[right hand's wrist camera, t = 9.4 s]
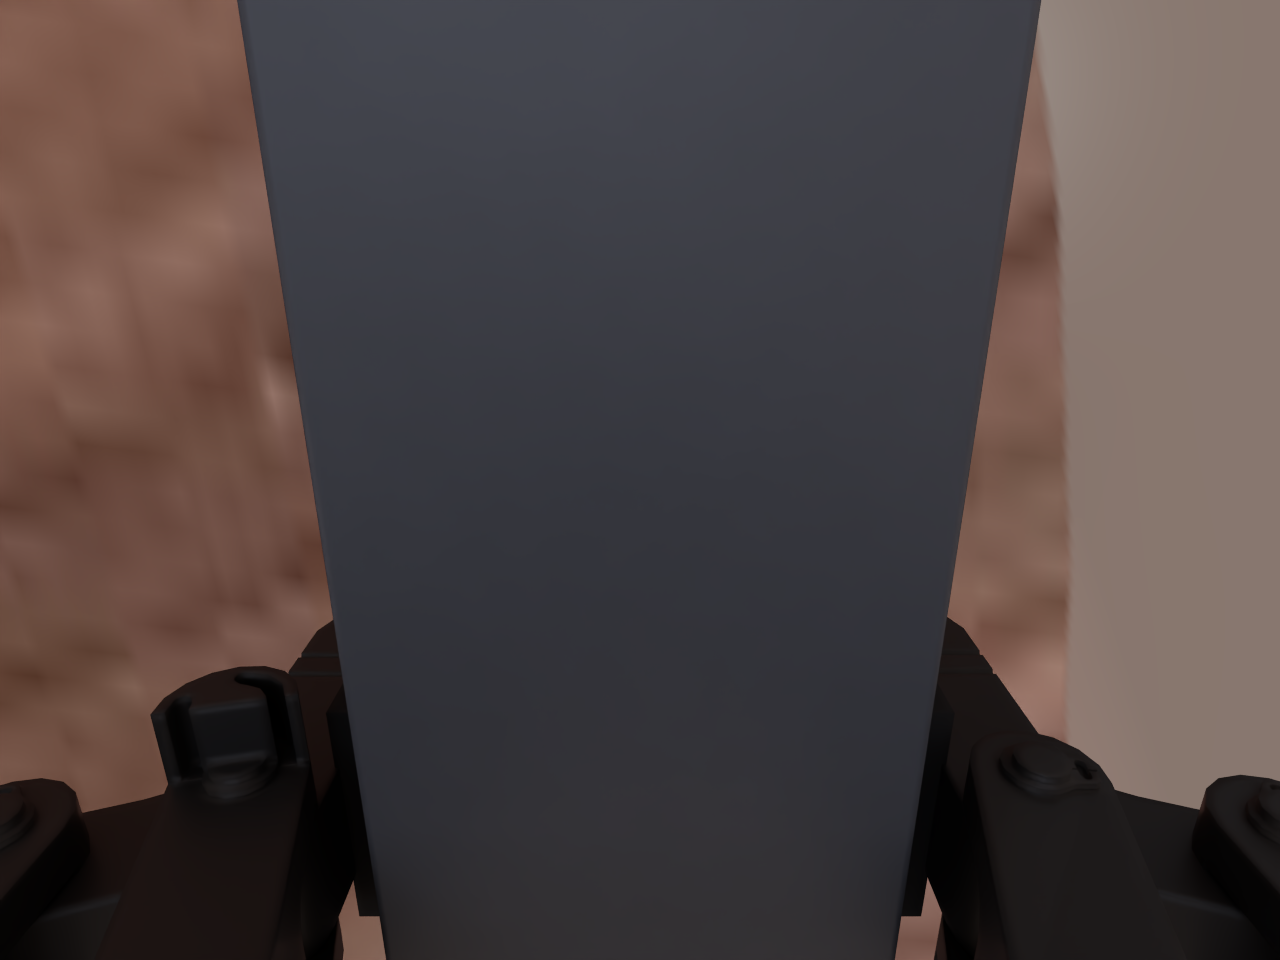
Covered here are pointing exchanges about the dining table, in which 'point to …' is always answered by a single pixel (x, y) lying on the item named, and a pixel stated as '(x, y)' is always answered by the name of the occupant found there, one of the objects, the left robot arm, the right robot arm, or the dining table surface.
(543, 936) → the beam
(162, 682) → the dining table surface
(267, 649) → the dining table surface
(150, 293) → the dining table surface
